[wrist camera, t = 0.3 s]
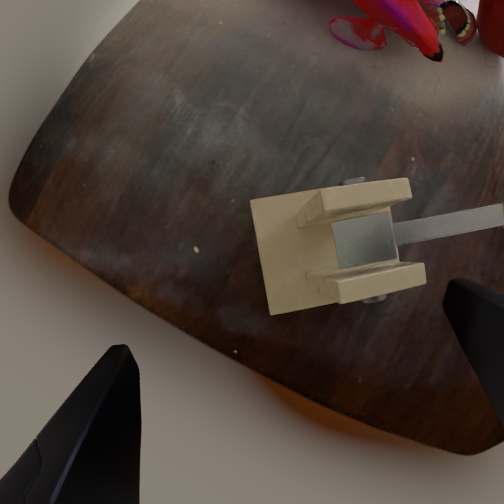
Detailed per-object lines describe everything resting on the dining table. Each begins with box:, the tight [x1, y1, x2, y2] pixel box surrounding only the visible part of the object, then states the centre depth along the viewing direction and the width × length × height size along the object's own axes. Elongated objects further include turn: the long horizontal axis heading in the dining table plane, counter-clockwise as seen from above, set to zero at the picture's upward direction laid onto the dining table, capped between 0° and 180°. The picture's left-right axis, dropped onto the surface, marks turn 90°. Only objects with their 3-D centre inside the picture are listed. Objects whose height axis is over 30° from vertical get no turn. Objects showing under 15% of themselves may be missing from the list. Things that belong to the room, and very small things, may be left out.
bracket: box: [250, 177, 426, 315], centre depth 18 cm, size 10×8×10 cm
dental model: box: [418, 0, 477, 46], centre depth 22 cm, size 6×4×8 cm
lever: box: [331, 189, 504, 269], centre depth 14 cm, size 12×3×3 cm, turn 100°
